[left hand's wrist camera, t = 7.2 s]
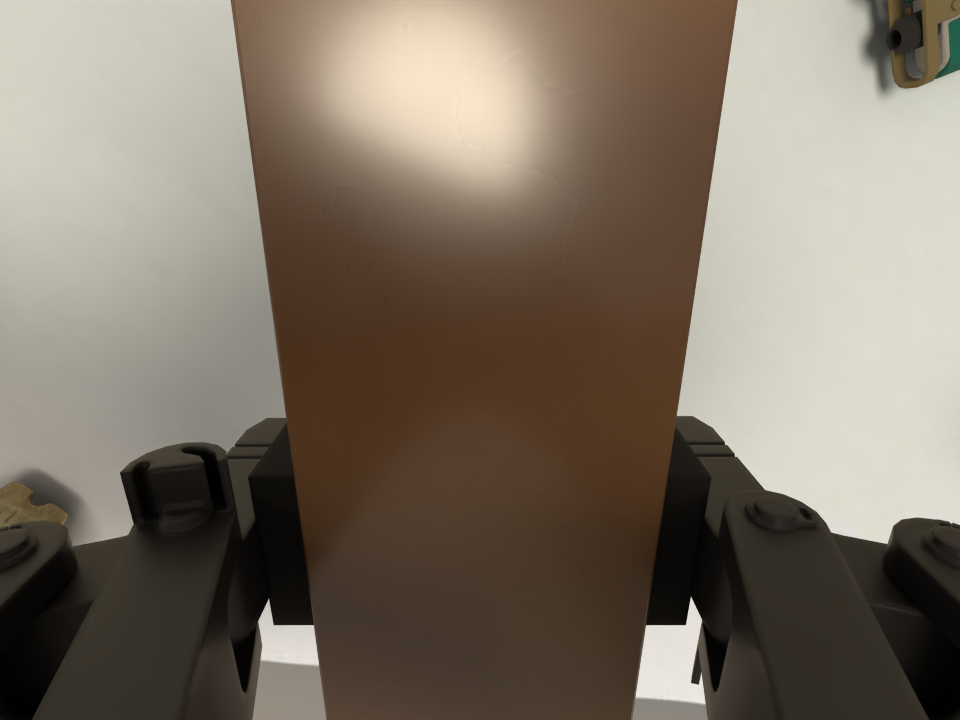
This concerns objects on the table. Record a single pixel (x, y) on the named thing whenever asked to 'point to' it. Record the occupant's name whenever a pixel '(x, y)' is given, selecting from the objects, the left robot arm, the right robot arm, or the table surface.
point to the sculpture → (25, 507)
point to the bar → (481, 330)
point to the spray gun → (924, 39)
